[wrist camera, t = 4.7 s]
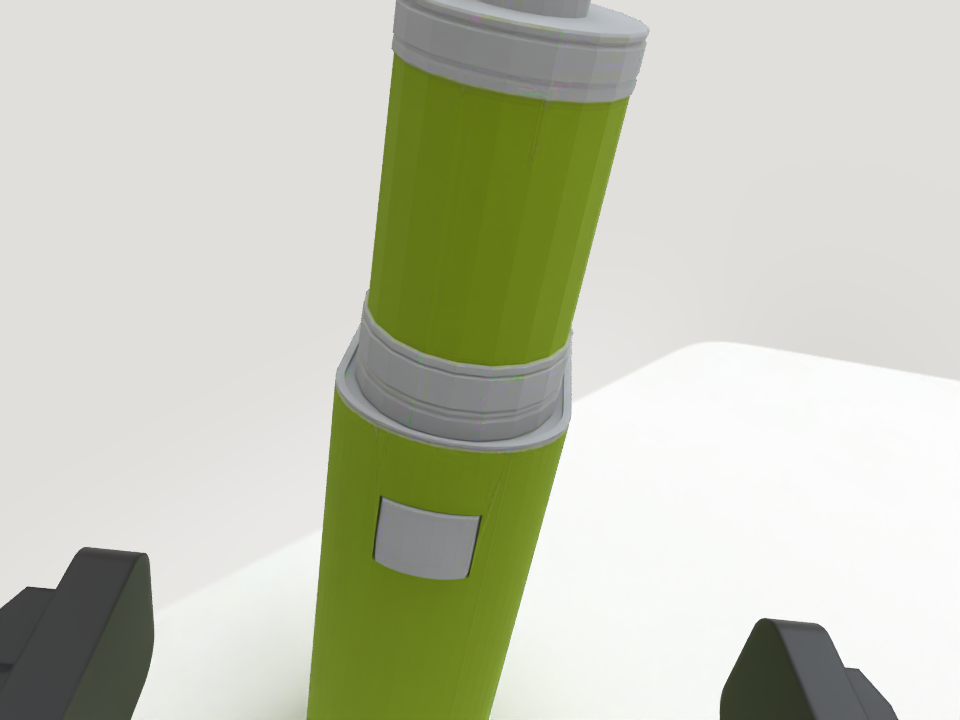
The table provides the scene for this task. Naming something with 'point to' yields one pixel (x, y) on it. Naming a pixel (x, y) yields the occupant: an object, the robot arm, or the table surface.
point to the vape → (463, 347)
